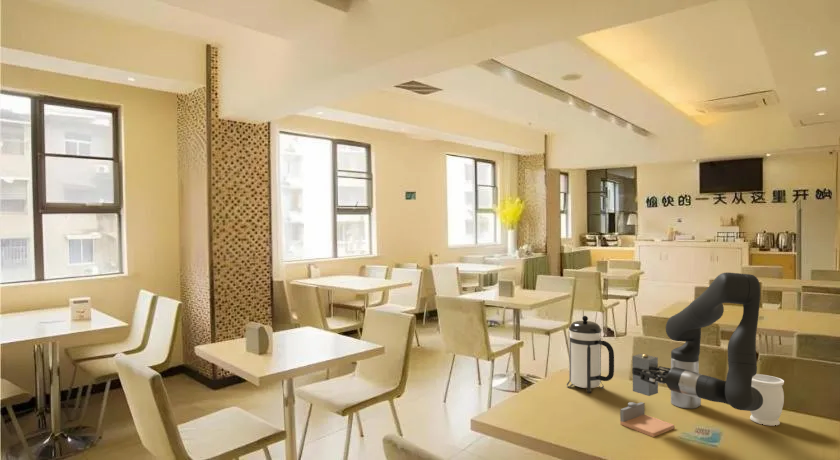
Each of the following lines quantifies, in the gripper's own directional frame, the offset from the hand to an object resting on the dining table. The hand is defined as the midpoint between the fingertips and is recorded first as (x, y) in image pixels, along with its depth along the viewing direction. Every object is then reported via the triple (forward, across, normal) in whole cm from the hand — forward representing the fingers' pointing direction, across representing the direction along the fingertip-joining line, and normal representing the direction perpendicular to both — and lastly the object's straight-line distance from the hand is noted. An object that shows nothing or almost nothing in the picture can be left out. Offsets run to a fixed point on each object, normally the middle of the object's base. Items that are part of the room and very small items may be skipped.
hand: (638, 369), depth 170 cm
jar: (-23, -38, +19) cm, 48 cm away
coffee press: (+33, -15, +18) cm, 41 cm away
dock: (-3, 0, +19) cm, 19 cm away
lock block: (-3, 0, +7) cm, 8 cm away
